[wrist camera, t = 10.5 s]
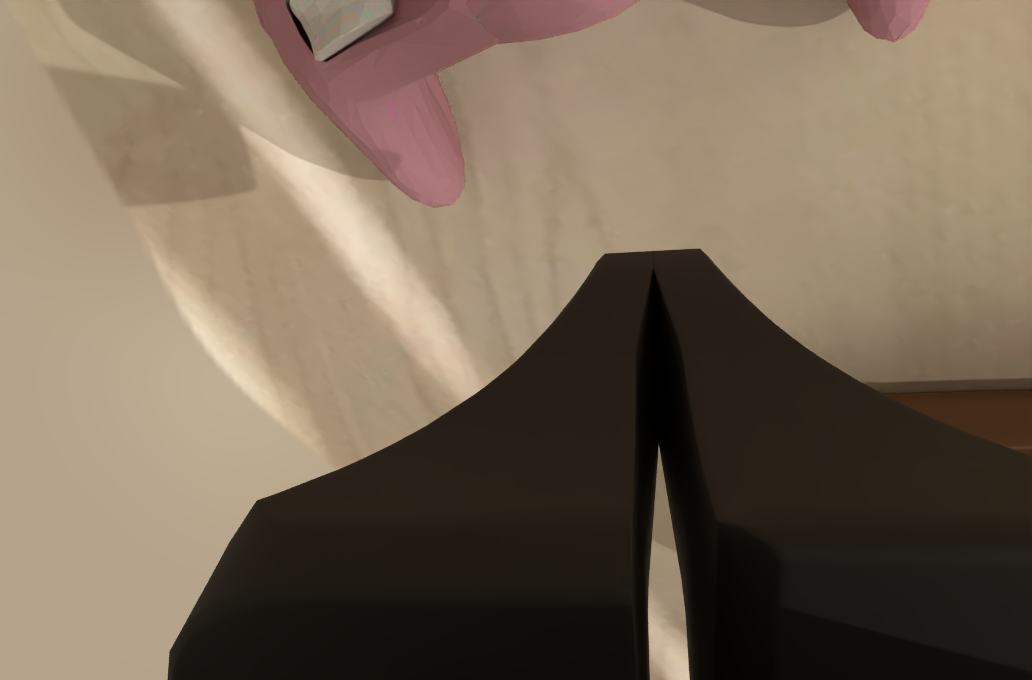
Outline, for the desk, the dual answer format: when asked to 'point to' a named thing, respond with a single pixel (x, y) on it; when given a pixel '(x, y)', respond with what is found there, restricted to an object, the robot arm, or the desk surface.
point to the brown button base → (980, 414)
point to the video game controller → (439, 67)
